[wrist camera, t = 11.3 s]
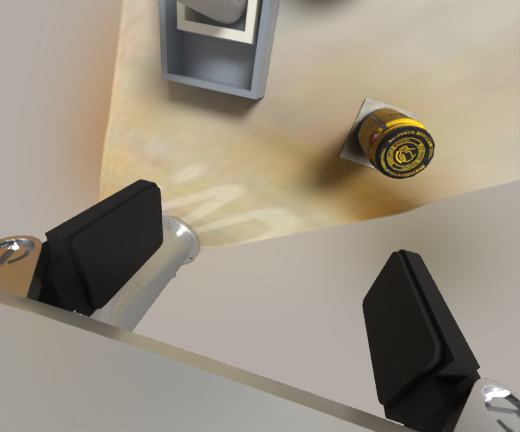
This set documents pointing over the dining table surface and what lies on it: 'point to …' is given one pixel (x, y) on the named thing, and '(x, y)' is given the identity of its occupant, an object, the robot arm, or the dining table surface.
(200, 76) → the walled box
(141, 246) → the robot arm
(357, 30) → the dining table surface
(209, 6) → the energy drink can
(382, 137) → the condiment
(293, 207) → the dining table surface
